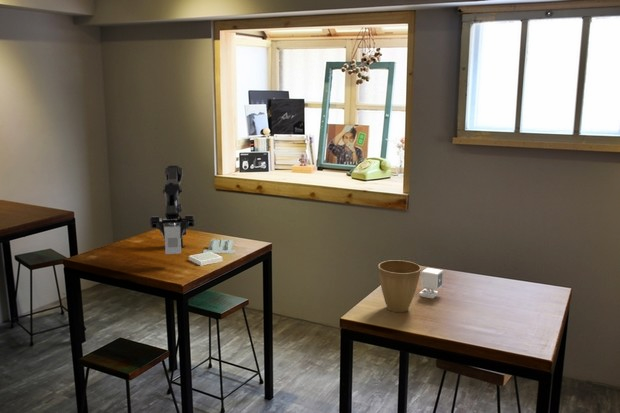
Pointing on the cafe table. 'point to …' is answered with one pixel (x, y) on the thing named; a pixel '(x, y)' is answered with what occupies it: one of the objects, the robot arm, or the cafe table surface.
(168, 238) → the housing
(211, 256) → the plinth
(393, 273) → the plant pot
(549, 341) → the cafe table surface
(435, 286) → the security camera
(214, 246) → the metal bracket
